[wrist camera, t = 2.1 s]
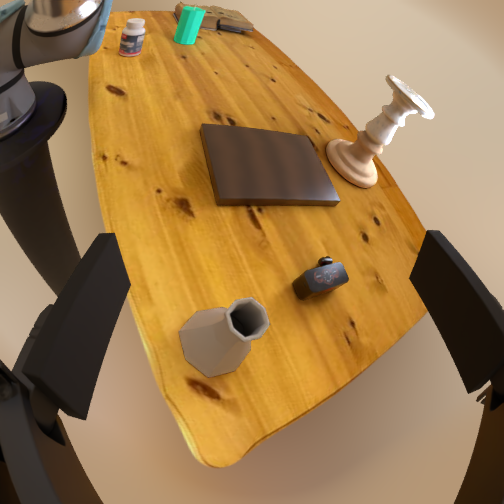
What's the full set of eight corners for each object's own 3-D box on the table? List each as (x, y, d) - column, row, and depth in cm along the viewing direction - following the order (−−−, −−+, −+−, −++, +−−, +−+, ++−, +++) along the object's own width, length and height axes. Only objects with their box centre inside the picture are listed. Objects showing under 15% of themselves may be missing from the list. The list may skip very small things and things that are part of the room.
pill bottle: (114, 54, 45) (119, 21, 38) (127, 47, 48) (133, 16, 41) (132, 58, 46) (138, 24, 39) (144, 51, 49) (152, 19, 42)
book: (178, 26, 62) (183, 11, 57) (172, 14, 68) (177, 0, 63) (250, 37, 73) (257, 23, 69) (236, 23, 79) (242, 10, 74)
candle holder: (347, 190, 47) (420, 112, 31) (314, 141, 51) (370, 63, 35) (383, 187, 53) (446, 124, 37) (352, 144, 57) (405, 80, 41)
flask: (205, 389, 25) (236, 390, 17) (165, 328, 26) (176, 298, 18) (260, 352, 29) (310, 333, 21) (223, 296, 30) (258, 256, 22)
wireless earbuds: (339, 288, 37) (354, 279, 34) (298, 302, 33) (312, 293, 31) (325, 258, 38) (339, 247, 35) (283, 268, 35) (296, 256, 32)
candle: (196, 45, 58) (210, 7, 48) (175, 43, 55) (186, 5, 45) (192, 38, 60) (204, 2, 50) (171, 36, 57) (183, 0, 47)
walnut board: (217, 205, 35) (220, 198, 34) (199, 130, 41) (201, 123, 40) (335, 206, 44) (340, 200, 43) (303, 141, 50) (307, 136, 49)
